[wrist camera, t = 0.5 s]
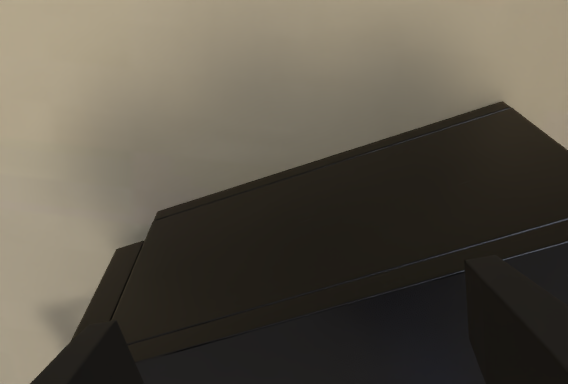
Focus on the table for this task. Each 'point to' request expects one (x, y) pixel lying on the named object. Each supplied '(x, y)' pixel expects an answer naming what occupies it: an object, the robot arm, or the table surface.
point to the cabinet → (349, 260)
